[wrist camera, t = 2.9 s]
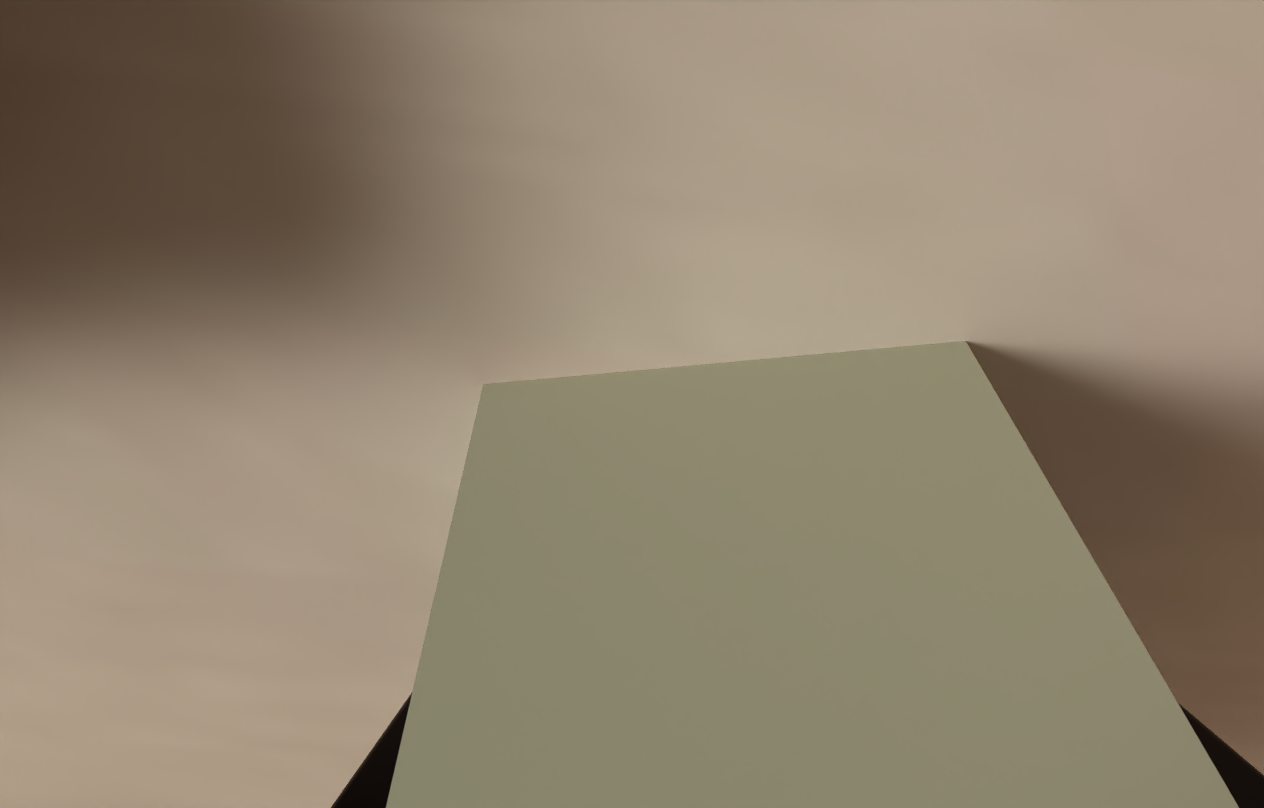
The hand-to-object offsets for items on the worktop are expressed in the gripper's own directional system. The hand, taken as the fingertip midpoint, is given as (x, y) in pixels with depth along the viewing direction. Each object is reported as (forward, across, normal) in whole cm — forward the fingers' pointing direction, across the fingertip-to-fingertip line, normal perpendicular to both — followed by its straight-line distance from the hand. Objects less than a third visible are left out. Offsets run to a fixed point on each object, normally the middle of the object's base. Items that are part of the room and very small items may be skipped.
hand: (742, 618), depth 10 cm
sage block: (+1, 0, 0) cm, 1 cm away
